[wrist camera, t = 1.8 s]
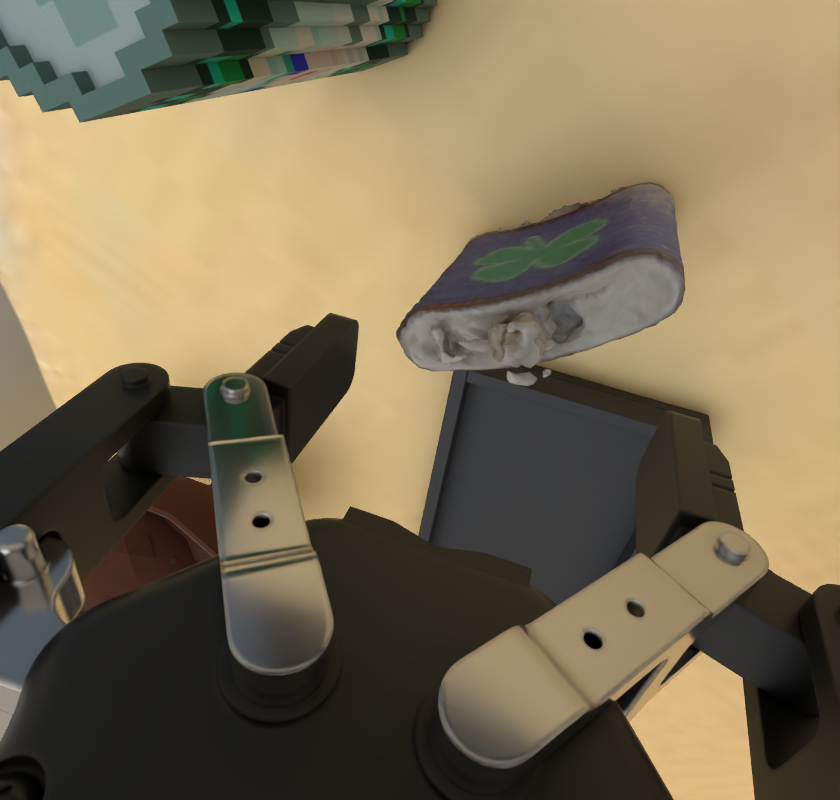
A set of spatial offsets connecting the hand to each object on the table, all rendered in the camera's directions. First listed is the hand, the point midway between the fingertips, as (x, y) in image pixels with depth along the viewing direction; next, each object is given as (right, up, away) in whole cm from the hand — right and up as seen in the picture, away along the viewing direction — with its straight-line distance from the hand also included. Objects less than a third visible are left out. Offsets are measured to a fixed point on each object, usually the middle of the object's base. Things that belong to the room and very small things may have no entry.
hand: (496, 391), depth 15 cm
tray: (+4, -10, +21) cm, 23 cm away
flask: (+4, +7, +10) cm, 13 cm away
